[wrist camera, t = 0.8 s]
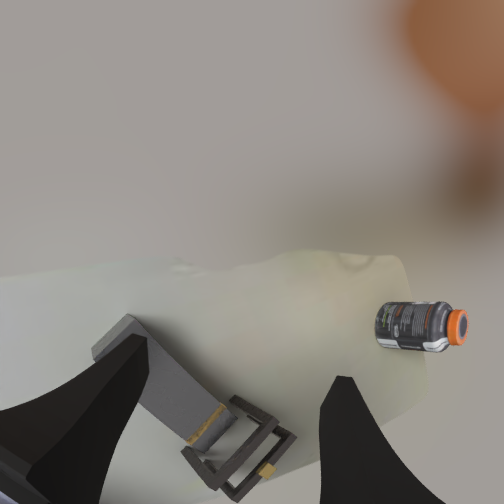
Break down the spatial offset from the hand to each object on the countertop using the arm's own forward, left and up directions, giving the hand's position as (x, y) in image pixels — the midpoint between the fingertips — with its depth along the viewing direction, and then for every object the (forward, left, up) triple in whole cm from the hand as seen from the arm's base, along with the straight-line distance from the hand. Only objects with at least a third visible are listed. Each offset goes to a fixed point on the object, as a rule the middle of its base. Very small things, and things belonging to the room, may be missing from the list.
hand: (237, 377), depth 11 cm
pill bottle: (+20, -21, -15) cm, 33 cm away
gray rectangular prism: (-3, -3, -15) cm, 15 cm away
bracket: (-3, -10, -14) cm, 18 cm away
